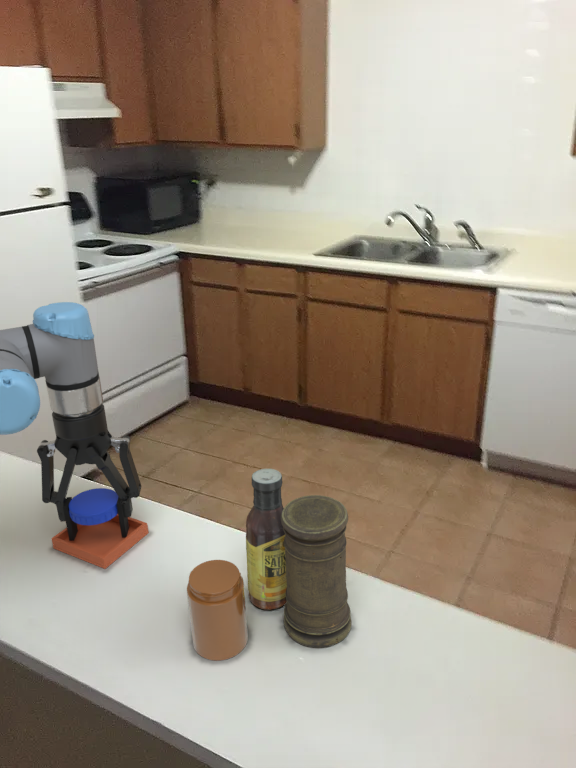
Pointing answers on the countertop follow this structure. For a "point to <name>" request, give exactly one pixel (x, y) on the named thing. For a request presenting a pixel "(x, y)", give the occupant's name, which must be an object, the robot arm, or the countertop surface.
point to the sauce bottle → (266, 542)
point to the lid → (93, 506)
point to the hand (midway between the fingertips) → (99, 534)
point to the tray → (101, 541)
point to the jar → (217, 610)
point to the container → (316, 571)
